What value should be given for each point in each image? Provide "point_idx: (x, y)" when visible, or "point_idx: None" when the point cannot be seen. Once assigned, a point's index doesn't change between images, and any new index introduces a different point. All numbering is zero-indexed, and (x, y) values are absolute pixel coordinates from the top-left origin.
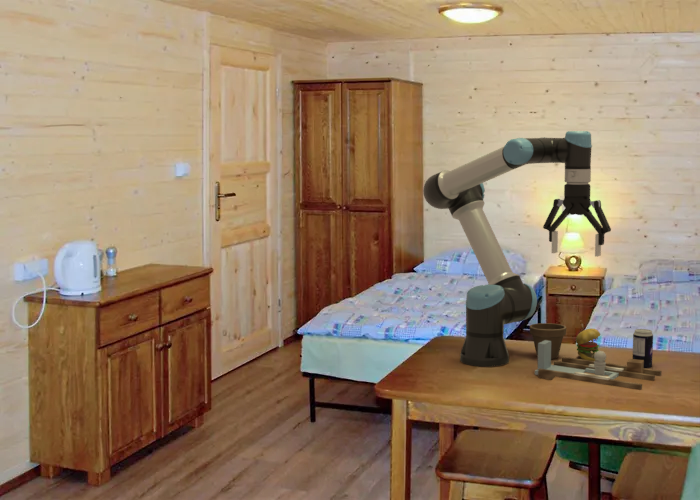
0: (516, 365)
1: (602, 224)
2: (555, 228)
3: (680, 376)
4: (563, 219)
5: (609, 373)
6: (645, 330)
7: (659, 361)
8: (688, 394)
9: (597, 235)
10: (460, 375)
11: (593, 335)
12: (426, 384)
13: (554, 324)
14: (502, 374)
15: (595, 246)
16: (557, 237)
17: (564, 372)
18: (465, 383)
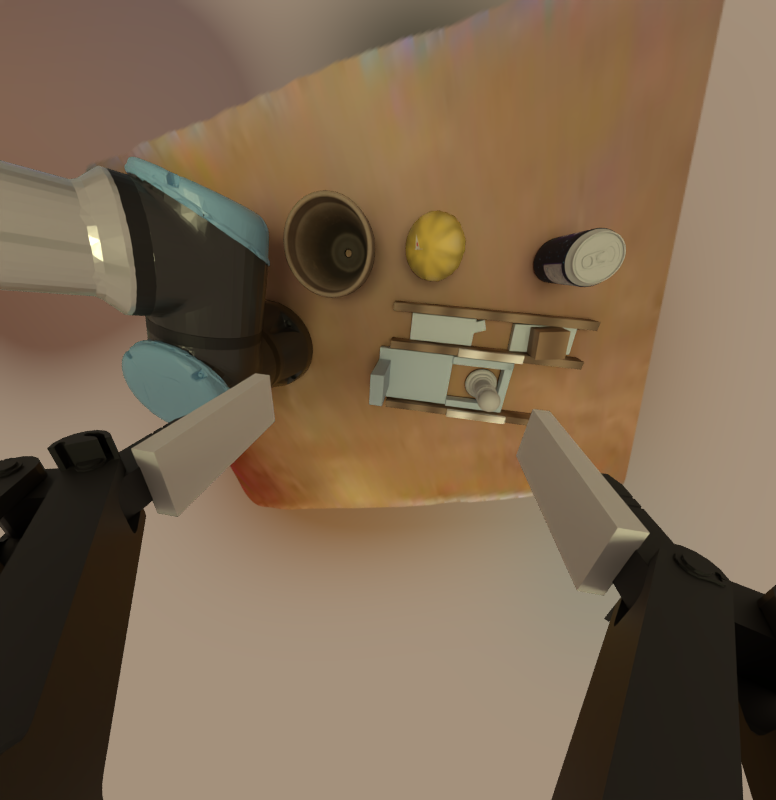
0: (328, 345)
1: (765, 773)
2: (115, 484)
3: (636, 277)
4: (86, 631)
5: (497, 368)
6: (605, 243)
7: (599, 142)
8: (632, 395)
9: (593, 584)
10: (292, 431)
11: (452, 270)
12: (283, 478)
13: (326, 196)
14: (335, 405)
15: (538, 499)
16: (202, 423)
17: (428, 408)
18: (317, 460)
